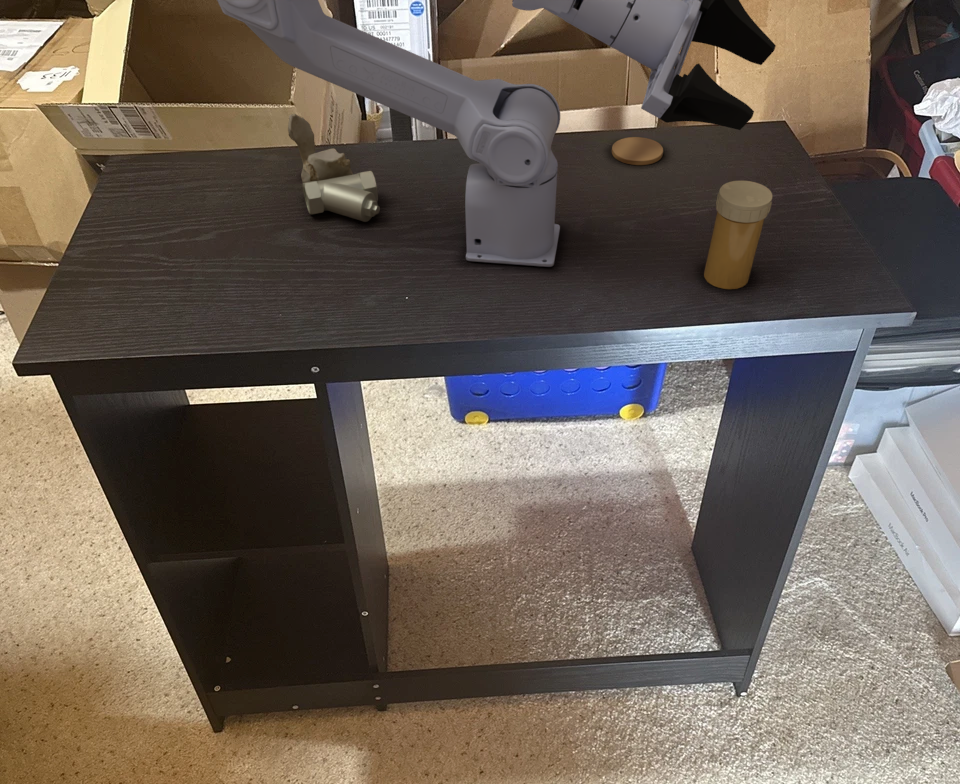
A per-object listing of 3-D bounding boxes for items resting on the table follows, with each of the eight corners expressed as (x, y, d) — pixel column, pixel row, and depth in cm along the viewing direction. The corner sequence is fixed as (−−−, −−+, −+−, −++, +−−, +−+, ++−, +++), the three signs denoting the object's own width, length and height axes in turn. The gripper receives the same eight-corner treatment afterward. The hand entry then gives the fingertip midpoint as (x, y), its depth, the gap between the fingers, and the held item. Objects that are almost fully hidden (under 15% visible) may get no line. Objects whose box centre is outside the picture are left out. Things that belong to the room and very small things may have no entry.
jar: (704, 287, 86) (721, 208, 79) (703, 262, 89) (719, 184, 82) (749, 291, 85) (771, 212, 78) (747, 265, 88) (767, 187, 82)
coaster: (610, 163, 103) (610, 159, 103) (612, 140, 108) (613, 135, 107) (662, 166, 103) (663, 162, 102) (662, 142, 107) (663, 138, 106)
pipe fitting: (387, 225, 95) (371, 192, 99) (384, 195, 92) (368, 163, 96) (318, 238, 94) (305, 205, 98) (313, 208, 91) (300, 175, 95)
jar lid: (716, 221, 80) (719, 205, 79) (714, 194, 83) (718, 178, 82) (770, 224, 79) (775, 208, 78) (766, 197, 83) (770, 181, 81)
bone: (360, 191, 97) (303, 118, 91) (317, 220, 99) (259, 151, 93) (362, 161, 103) (309, 90, 97) (321, 189, 105) (267, 122, 99)
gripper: (620, 45, 67) (763, 124, 69) (671, -85, 70) (805, -5, 73) (586, 99, 73) (718, 170, 76) (635, -23, 77) (758, 49, 80)
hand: (757, 87), depth 75 cm, fingers open, 7 cm apart
